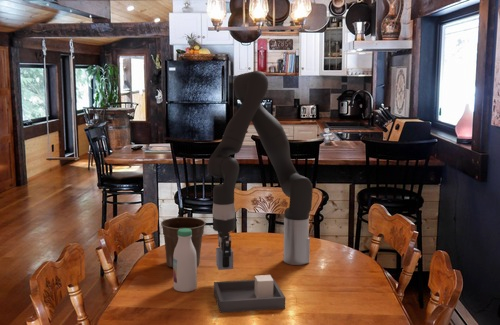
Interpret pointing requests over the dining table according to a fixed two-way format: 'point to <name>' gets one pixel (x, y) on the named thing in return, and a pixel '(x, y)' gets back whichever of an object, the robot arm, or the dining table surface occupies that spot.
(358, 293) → the dining table surface
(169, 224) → the plant pot
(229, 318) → the dining table surface
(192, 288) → the milk bottle
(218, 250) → the slate blue block
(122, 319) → the dining table surface
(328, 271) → the dining table surface
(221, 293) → the dark grey tray
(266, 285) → the cream block
